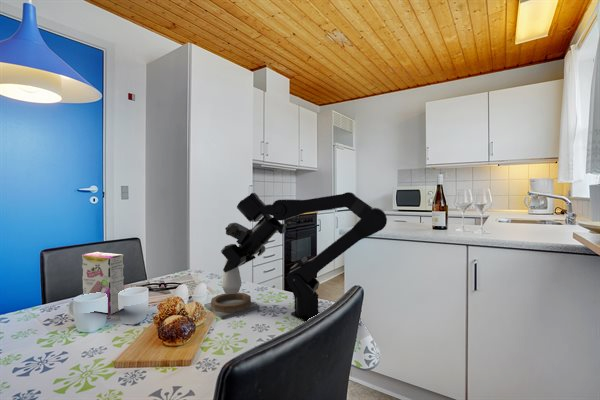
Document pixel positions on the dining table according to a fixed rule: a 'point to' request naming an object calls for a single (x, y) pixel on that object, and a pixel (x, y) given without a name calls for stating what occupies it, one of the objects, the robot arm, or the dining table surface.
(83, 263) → the candy bar box
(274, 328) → the dining table surface
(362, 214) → the robot arm
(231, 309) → the stand
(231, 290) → the salt shaker
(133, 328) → the dining table surface
